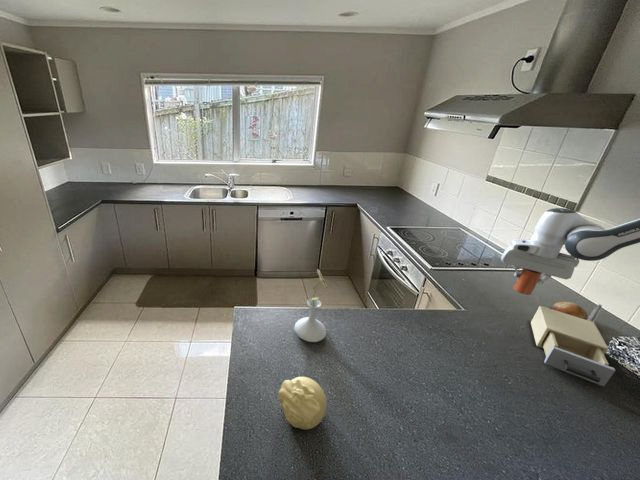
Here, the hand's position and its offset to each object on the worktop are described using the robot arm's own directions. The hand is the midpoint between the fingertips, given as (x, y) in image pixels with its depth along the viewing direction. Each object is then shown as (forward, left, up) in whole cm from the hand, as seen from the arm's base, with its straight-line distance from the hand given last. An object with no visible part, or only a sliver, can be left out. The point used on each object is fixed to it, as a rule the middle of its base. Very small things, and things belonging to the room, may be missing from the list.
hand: (527, 279), depth 112 cm
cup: (0, 0, -6) cm, 6 cm away
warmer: (-13, +11, -17) cm, 24 cm away
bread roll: (-19, -12, -17) cm, 28 cm away
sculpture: (+50, +94, -17) cm, 108 cm away
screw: (-22, -4, -17) cm, 28 cm away
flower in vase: (+62, +65, -17) cm, 91 cm away
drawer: (-13, +24, -16) cm, 31 cm away
